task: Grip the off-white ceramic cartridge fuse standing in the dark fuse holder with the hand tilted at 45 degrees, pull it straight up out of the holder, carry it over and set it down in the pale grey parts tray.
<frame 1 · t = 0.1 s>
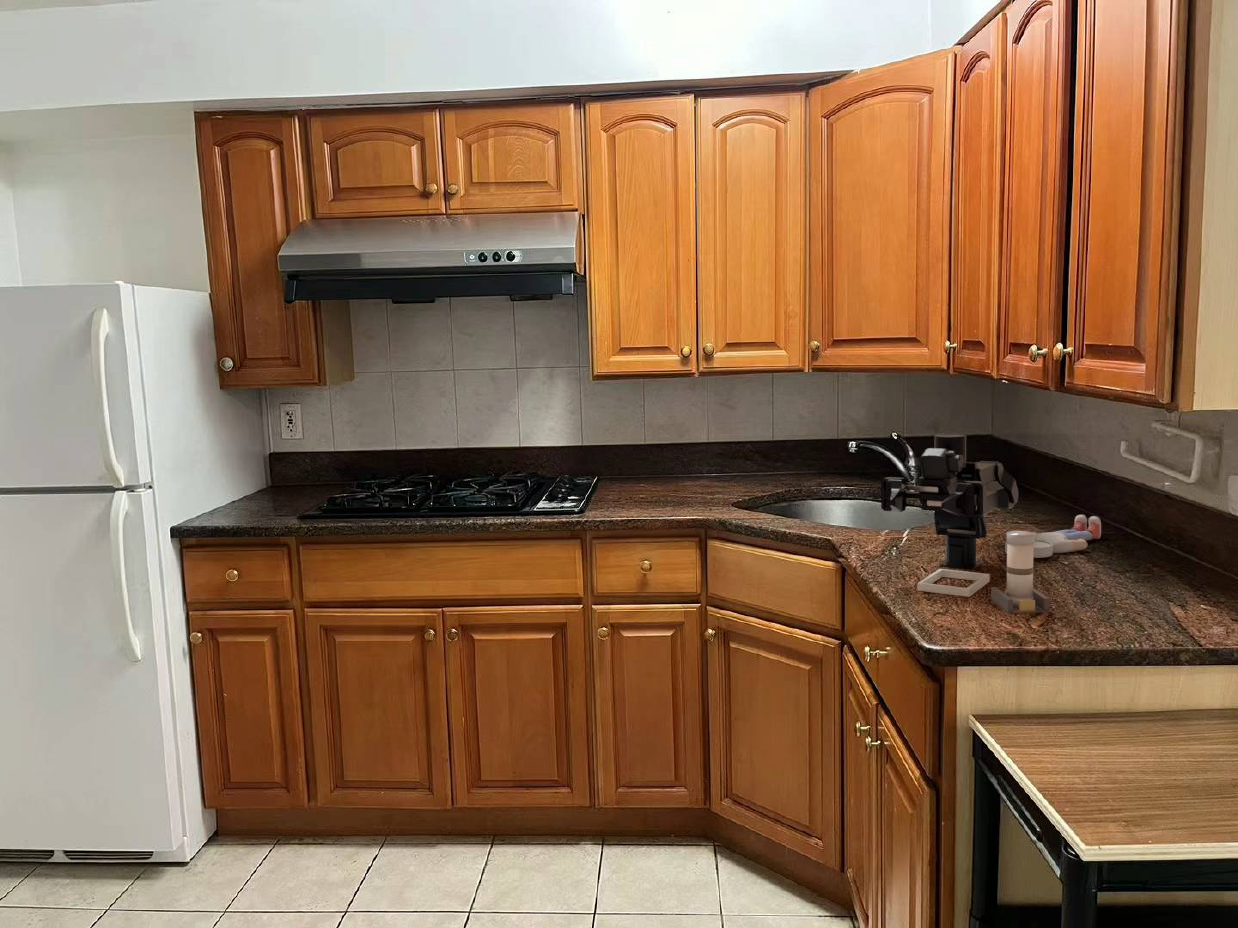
hand: (916, 504, 170), 17 cm above the worktop, tool horizontal, fingers open, 9 cm apart
toy: (1054, 550, 204), on the worktop
fuse holder: (1019, 611, 160), on the worktop
parts tray: (953, 592, 173), on the worktop
fuse: (1019, 604, 160), point 1 cm above the worktop, touching fuse holder
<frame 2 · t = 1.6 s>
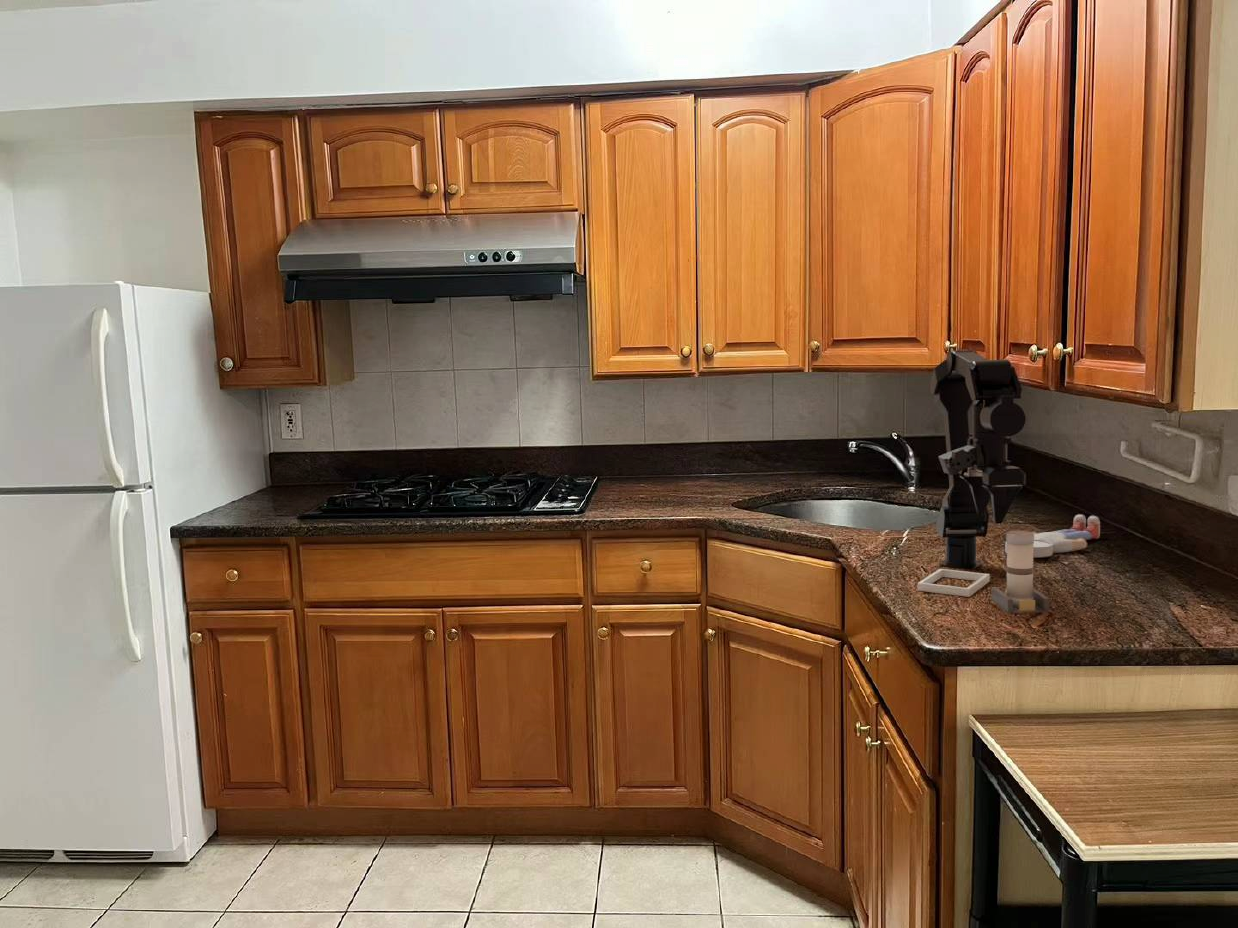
hand: (989, 518, 172), 13 cm above the worktop, tool pointing down, fingers open, 9 cm apart
nothing on the worktop moved.
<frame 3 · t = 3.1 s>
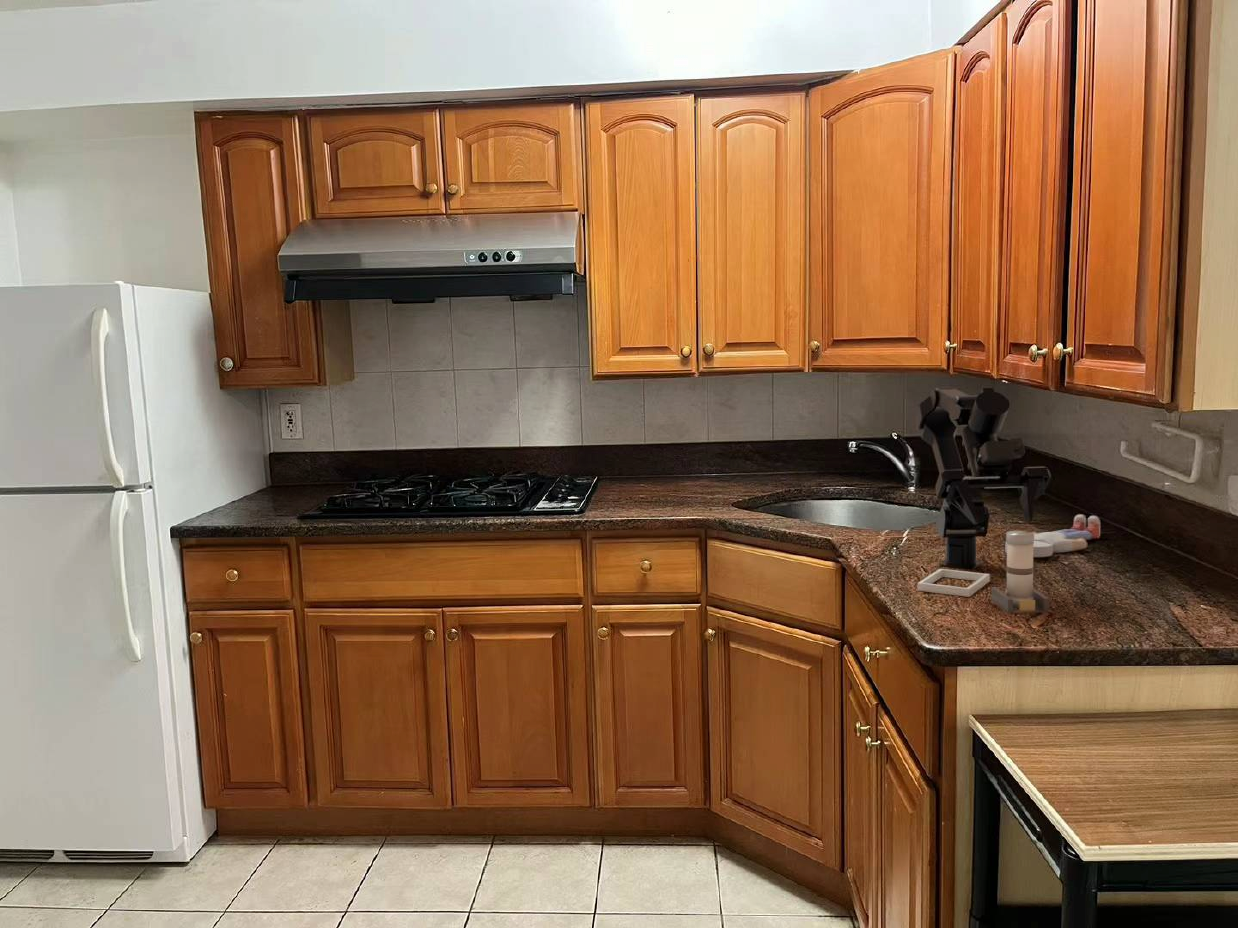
hand: (1003, 522, 166), 13 cm above the worktop, tool tilted 45°, fingers open, 9 cm apart
nothing on the worktop moved.
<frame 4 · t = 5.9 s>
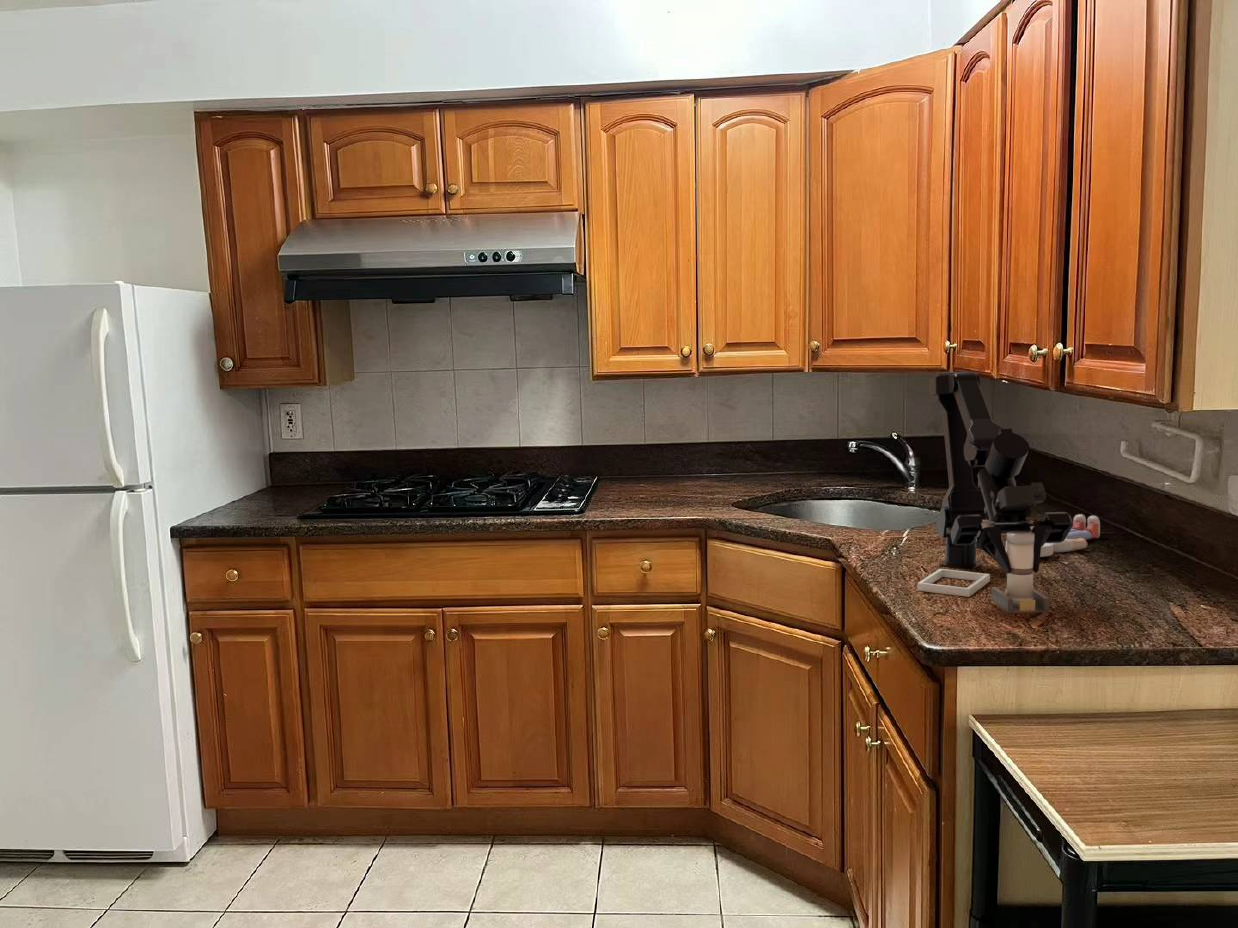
hand: (1023, 571, 158), 7 cm above the worktop, tool tilted 45°, fingers closed on fuse, 4 cm apart
fuse: (1019, 604, 160), point 1 cm above the worktop, touching fuse holder, gripper
everything else where it was.
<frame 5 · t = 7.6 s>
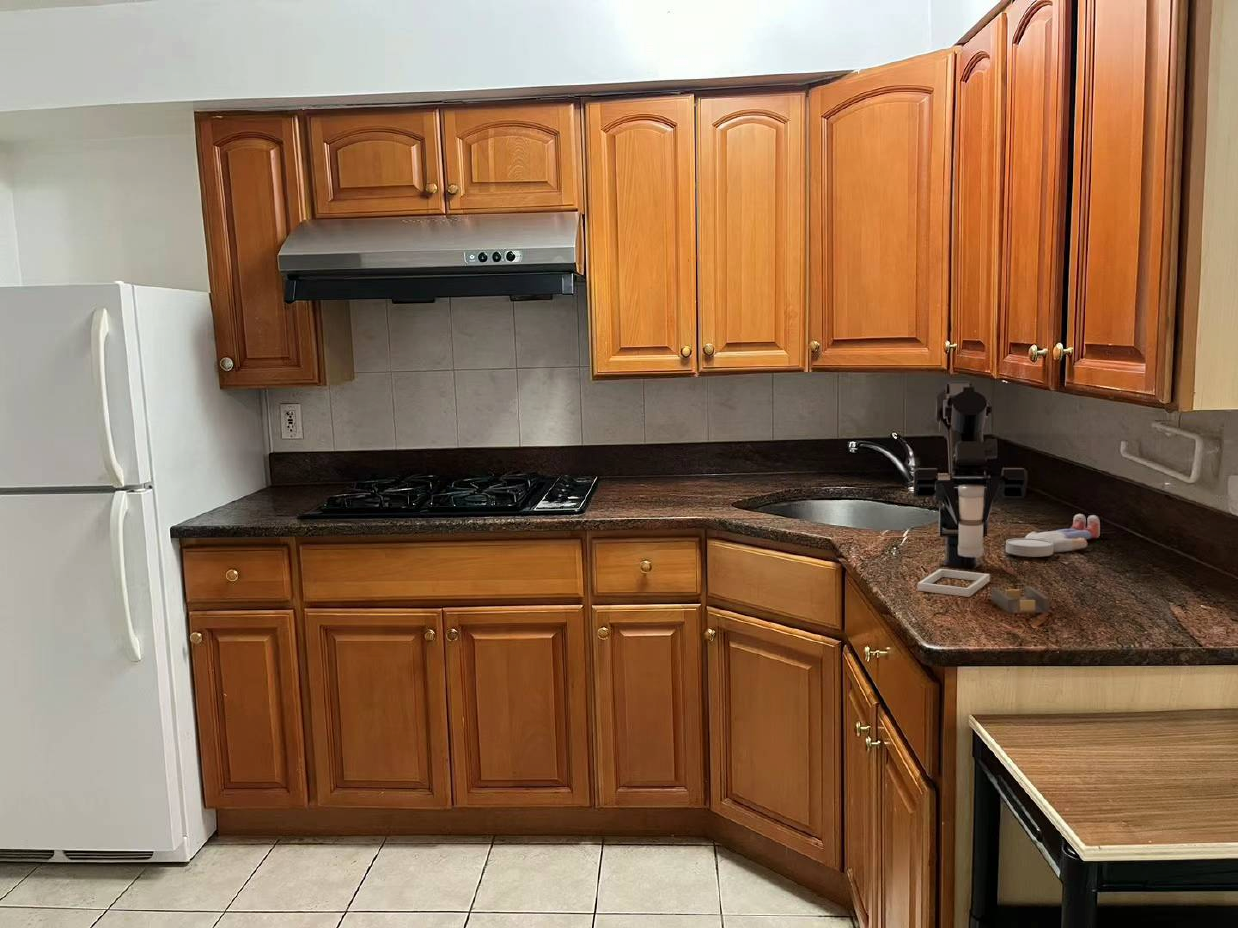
hand: (971, 523, 166), 14 cm above the worktop, tool tilted 45°, fingers closed on fuse, 4 cm apart
fuse: (970, 554, 168), point 8 cm above the worktop, touching gripper
everything else where it was.
when the fingers open (8 cm above the worktop, at t = 9.3 s): fuse drops 1 cm, resting on parts tray.
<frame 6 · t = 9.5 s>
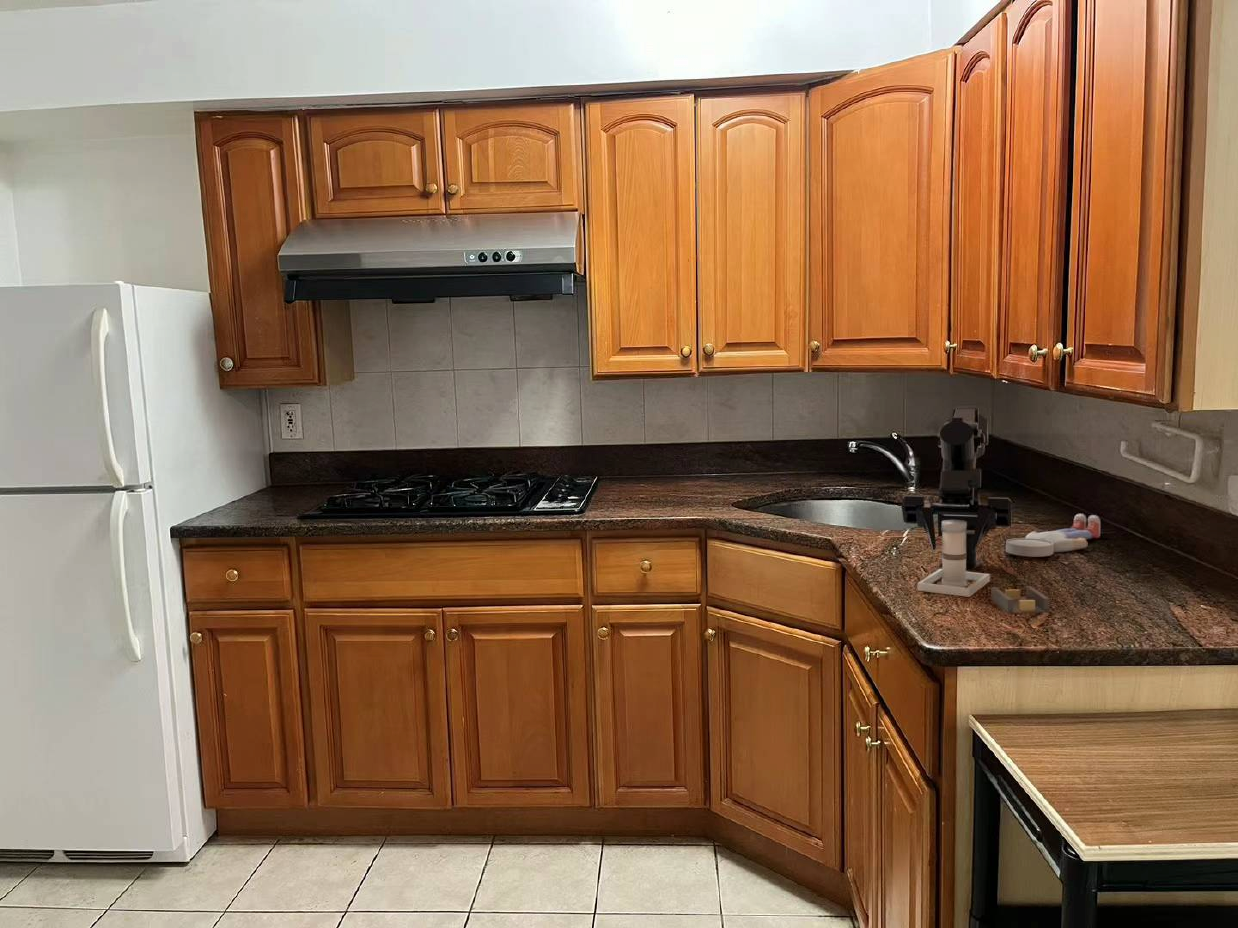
hand: (953, 549, 171), 8 cm above the worktop, tool tilted 45°, fingers open, 6 cm apart
fuse: (954, 587, 173), point 1 cm above the worktop, touching parts tray
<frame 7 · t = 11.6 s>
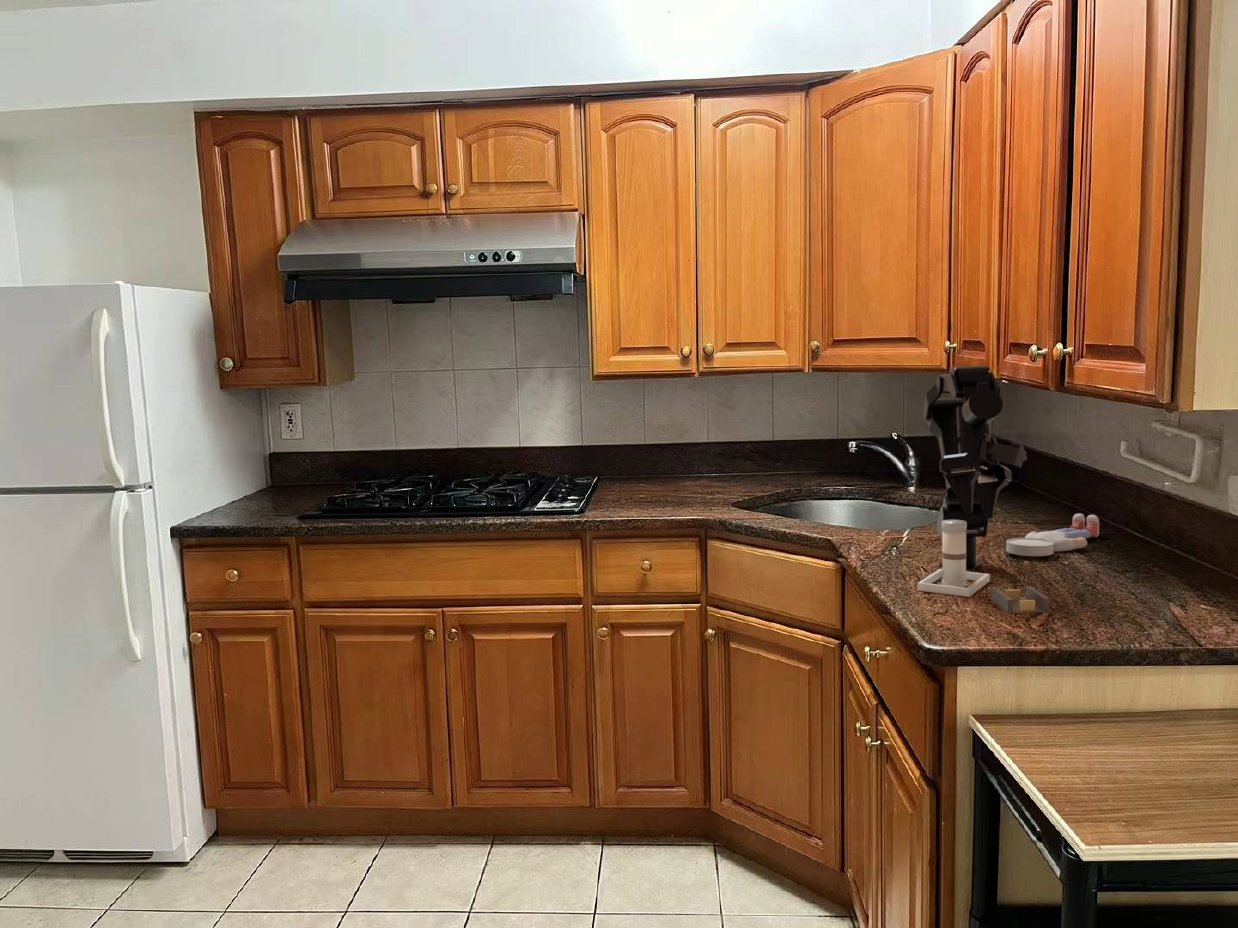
hand: (979, 516, 175), 13 cm above the worktop, tool tilted 20°, fingers open, 9 cm apart
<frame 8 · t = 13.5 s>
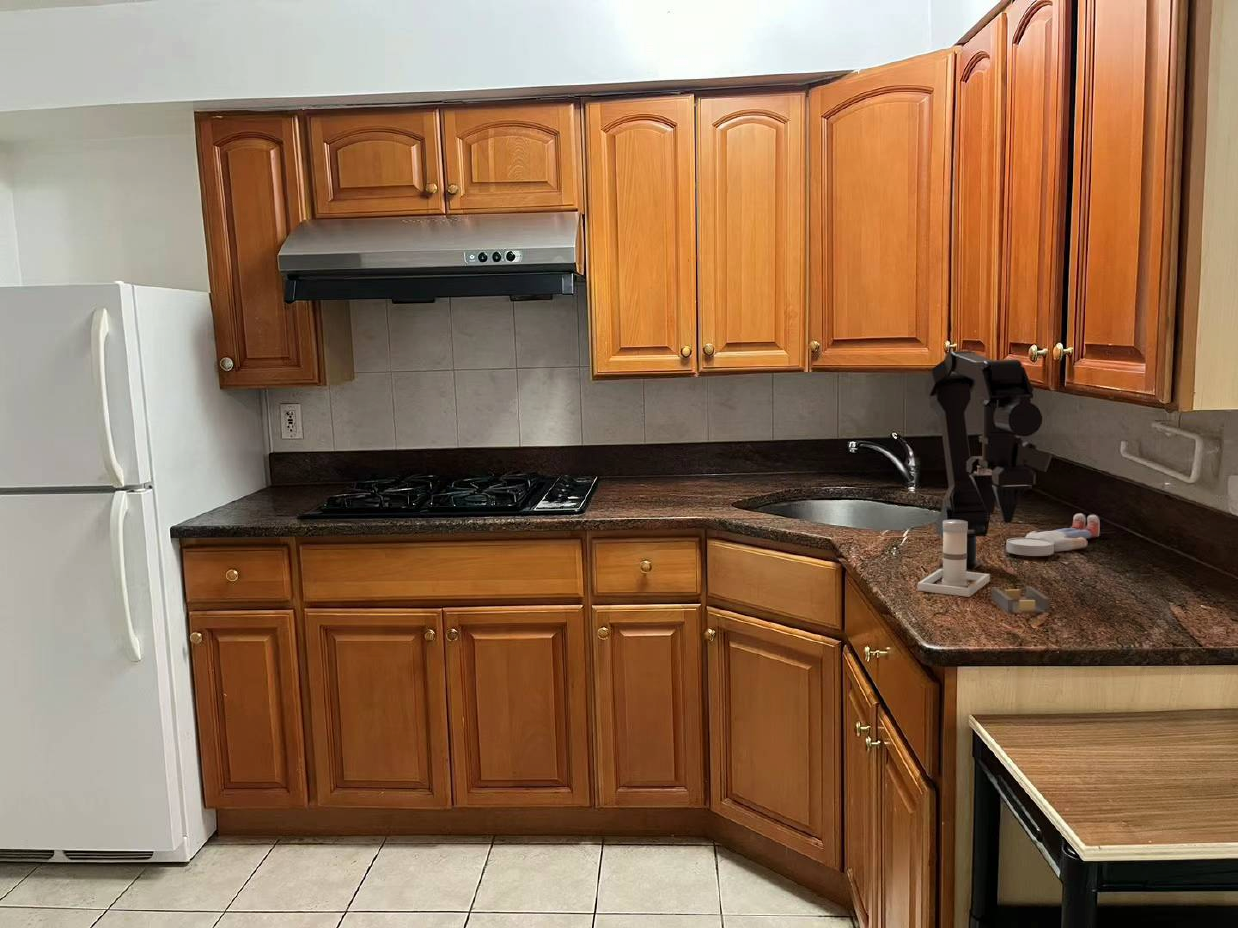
hand: (998, 517, 173), 13 cm above the worktop, tool pointing down, fingers open, 9 cm apart
at the end: fuse inside the target area on the parts tray (0.0 cm from its centre), point 0.8 cm above the parts tray's base; the gripper is holding nothing; fuse moved 14.8 cm from its start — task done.
